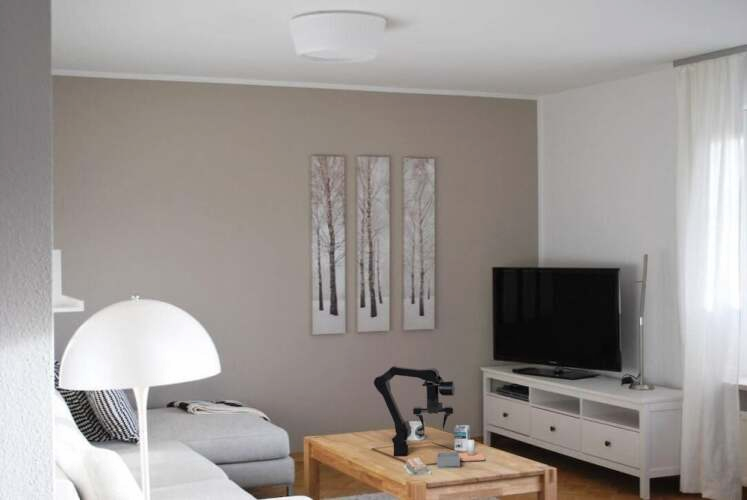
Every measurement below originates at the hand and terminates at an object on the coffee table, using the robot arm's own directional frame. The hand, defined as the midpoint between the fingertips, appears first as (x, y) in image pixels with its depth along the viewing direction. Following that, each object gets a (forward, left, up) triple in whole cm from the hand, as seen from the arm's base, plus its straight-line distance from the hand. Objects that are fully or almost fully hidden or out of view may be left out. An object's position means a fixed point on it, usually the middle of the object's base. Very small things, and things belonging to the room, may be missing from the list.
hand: (433, 428), depth 464 cm
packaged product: (-8, -29, -14) cm, 33 cm away
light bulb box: (+14, +16, -13) cm, 25 cm away
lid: (+17, -9, -13) cm, 23 cm away
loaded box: (+6, -20, -13) cm, 25 cm away
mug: (-10, +41, -13) cm, 44 cm away
